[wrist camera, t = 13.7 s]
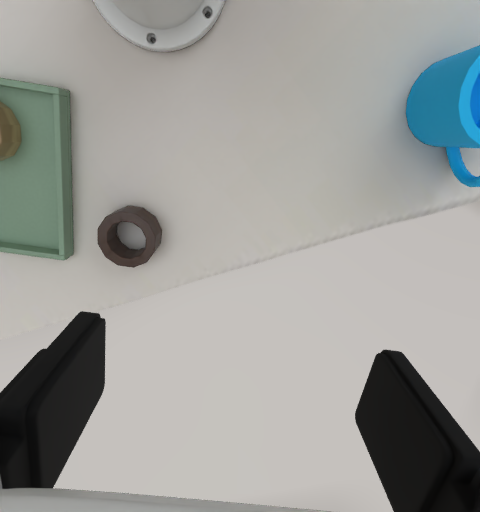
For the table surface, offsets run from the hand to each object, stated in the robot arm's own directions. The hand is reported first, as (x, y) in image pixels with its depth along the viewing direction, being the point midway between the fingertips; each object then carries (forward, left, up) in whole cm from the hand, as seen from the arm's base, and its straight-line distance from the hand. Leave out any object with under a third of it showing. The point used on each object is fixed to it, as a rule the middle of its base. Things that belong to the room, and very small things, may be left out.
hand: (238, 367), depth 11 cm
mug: (-12, +20, -26) cm, 35 cm away
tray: (-1, -25, -26) cm, 37 cm away
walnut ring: (+4, -11, -26) cm, 29 cm away
